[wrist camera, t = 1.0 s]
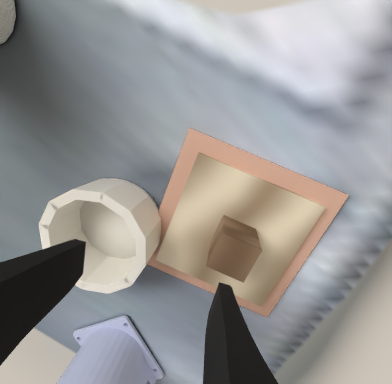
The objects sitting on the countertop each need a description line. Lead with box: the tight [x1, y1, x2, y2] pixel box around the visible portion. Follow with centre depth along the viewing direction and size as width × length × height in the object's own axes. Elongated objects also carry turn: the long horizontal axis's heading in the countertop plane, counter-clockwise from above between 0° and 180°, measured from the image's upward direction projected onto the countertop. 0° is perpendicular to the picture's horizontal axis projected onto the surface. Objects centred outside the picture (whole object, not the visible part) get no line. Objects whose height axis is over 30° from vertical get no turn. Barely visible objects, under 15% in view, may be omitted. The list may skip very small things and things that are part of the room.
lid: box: [156, 152, 326, 307], centre depth 17 cm, size 11×11×4 cm
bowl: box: [39, 178, 161, 294], centre depth 19 cm, size 9×9×4 cm
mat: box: [147, 128, 349, 317], centre depth 20 cm, size 14×14×1 cm
